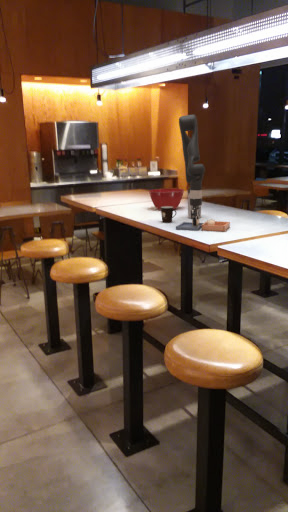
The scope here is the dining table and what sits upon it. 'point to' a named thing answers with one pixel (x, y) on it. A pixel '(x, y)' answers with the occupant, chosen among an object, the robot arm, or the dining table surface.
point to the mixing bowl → (166, 197)
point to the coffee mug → (167, 214)
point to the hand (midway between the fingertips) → (195, 224)
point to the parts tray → (188, 226)
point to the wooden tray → (216, 226)
